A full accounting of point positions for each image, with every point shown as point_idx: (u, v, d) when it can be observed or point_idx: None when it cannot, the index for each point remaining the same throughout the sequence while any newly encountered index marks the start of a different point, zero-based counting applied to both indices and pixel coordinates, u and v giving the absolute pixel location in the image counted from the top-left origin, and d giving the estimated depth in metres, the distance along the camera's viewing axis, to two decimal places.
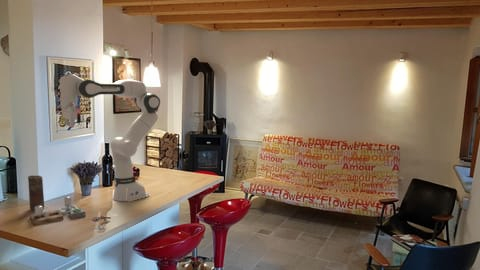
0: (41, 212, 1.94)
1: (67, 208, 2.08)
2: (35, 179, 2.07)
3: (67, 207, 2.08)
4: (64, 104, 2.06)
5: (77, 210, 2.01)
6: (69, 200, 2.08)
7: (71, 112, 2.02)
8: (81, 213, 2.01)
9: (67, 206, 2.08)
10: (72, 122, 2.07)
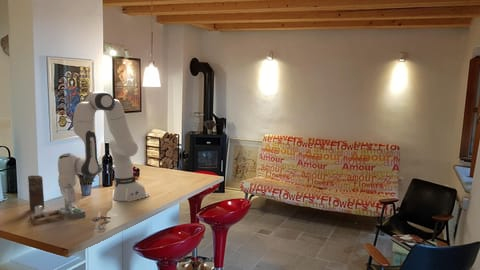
0: (41, 212, 1.94)
1: (67, 208, 2.08)
2: (35, 179, 2.07)
3: (67, 207, 2.08)
4: (62, 185, 2.04)
5: (77, 210, 2.01)
6: None
7: (69, 195, 2.00)
8: (81, 213, 2.01)
9: (67, 206, 2.08)
10: (69, 202, 2.06)
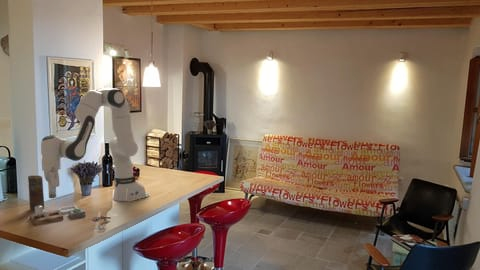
0: (41, 212, 1.94)
1: (51, 194, 1.95)
2: (35, 179, 2.07)
3: (51, 193, 1.95)
4: (45, 169, 1.91)
5: (77, 210, 2.01)
6: None
7: (53, 179, 1.87)
8: (81, 213, 2.01)
9: (51, 192, 1.95)
10: (53, 187, 1.93)
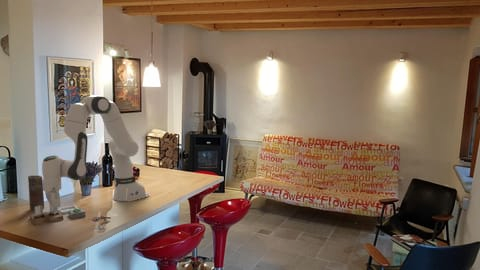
0: (41, 212, 1.94)
1: None
2: (35, 179, 2.07)
3: (52, 215, 1.97)
4: (47, 190, 1.92)
5: (77, 210, 2.01)
6: None
7: (54, 200, 1.89)
8: (81, 213, 2.01)
9: (52, 214, 1.97)
10: (55, 208, 1.94)
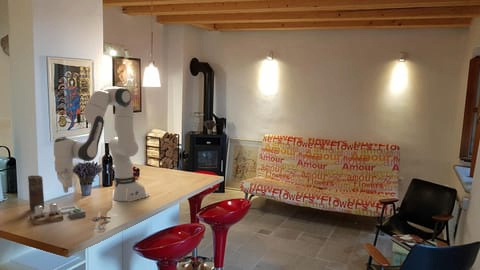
0: (41, 212, 1.94)
1: None
2: (35, 179, 2.07)
3: (52, 215, 1.97)
4: (59, 170, 1.94)
5: (77, 210, 2.01)
6: (54, 207, 1.97)
7: (66, 180, 1.90)
8: (81, 213, 2.01)
9: (52, 214, 1.97)
10: (66, 187, 1.98)
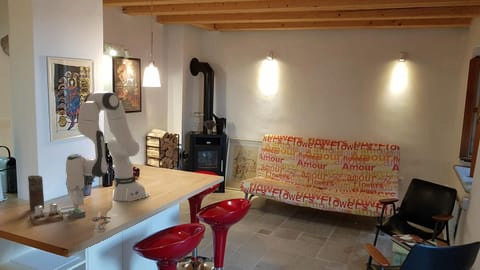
0: (41, 212, 1.94)
1: None
2: (35, 179, 2.07)
3: (52, 215, 1.97)
4: (70, 187, 1.96)
5: (77, 210, 2.01)
6: (54, 207, 1.97)
7: (78, 197, 1.93)
8: (81, 213, 2.01)
9: (52, 214, 1.97)
10: (77, 204, 2.00)
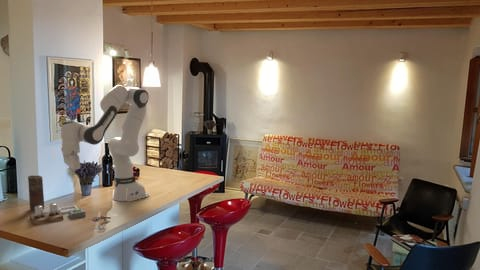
0: (41, 212, 1.94)
1: None
2: (35, 179, 2.07)
3: (52, 215, 1.97)
4: (66, 152, 1.97)
5: (77, 211, 2.01)
6: (54, 207, 1.97)
7: (74, 162, 1.94)
8: (81, 213, 2.01)
9: (52, 214, 1.97)
10: (73, 169, 2.01)
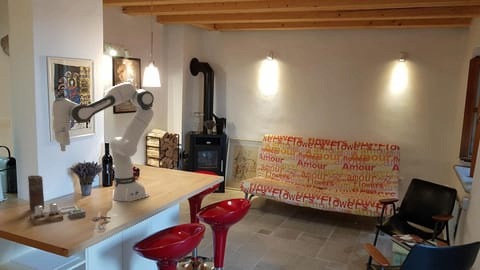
0: (41, 212, 1.94)
1: None
2: (35, 179, 2.07)
3: (52, 215, 1.97)
4: (57, 129, 2.05)
5: (77, 211, 2.01)
6: (54, 207, 1.97)
7: (64, 137, 2.02)
8: (81, 213, 2.01)
9: (52, 214, 1.97)
10: (63, 146, 2.09)
